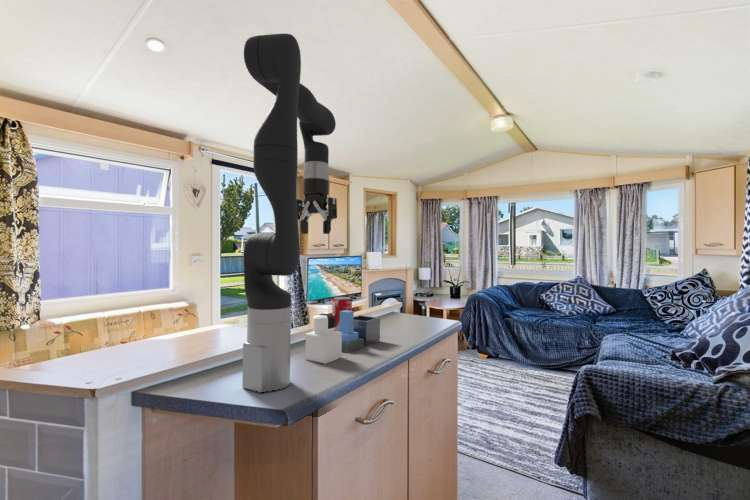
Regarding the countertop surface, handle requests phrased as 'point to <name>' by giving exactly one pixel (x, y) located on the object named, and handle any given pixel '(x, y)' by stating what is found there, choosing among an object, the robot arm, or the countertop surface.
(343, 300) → the soda can
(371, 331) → the grey square tube
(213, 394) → the countertop surface
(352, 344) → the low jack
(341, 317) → the plug
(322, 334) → the medicine bottle
